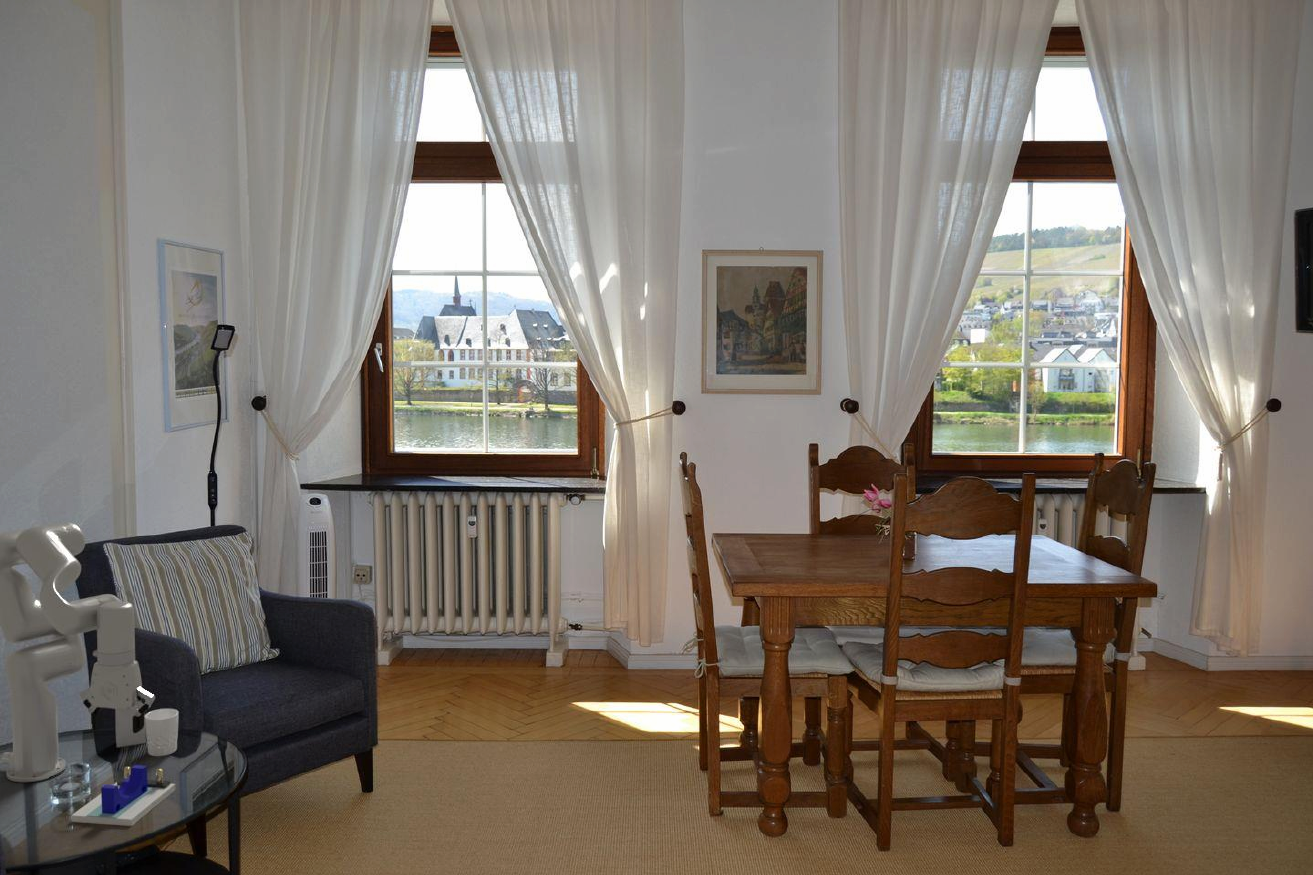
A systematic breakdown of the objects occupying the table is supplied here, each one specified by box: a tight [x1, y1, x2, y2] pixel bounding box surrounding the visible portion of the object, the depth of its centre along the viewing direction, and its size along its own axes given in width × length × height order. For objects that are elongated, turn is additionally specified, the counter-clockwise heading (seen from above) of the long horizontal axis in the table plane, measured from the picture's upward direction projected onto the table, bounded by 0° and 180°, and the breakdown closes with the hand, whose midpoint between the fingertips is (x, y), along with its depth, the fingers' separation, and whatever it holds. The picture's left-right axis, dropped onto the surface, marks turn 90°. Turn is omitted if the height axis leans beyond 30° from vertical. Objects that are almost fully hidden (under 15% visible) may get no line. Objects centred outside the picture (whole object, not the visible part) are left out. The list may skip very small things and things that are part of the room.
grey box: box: [114, 703, 147, 748], centre depth 274 cm, size 4×7×10 cm, turn 120°
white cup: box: [145, 708, 179, 757], centre depth 269 cm, size 8×8×10 cm
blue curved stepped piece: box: [100, 764, 148, 814], centre depth 237 cm, size 12×4×6 cm, turn 172°
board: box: [70, 781, 176, 827], centre depth 239 cm, size 14×18×2 cm
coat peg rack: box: [116, 765, 171, 788], centre depth 247 cm, size 12×2×4 cm, turn 86°
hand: (117, 729), depth 237 cm, fingers open, 9 cm apart
